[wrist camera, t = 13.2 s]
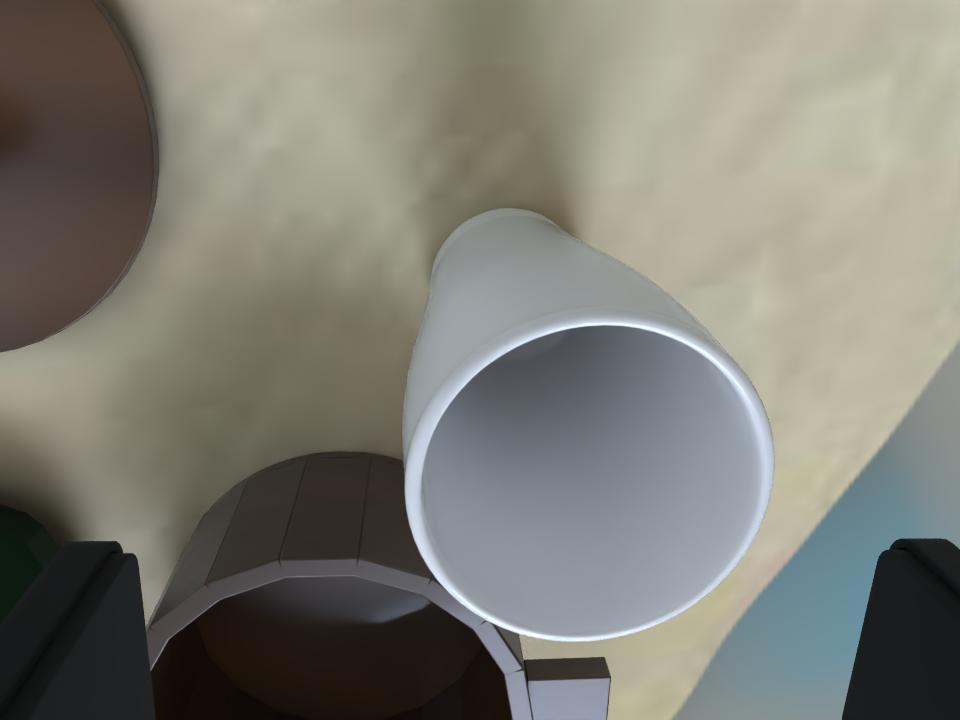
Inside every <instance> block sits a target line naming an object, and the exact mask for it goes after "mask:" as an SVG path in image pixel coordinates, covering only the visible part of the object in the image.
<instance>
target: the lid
mask: <svg viewBox="0 0 960 720" xmlns="http://www.w3.org/2000/svg"><path fill="white" fill-rule="evenodd" d="M158 175H159V157H158V138H157V133H156V127H155V121H154V116H153V110H152V106H151V103H150V100H149V96H148V93H147V90H146V87H145V84H144V80H143V77H142V75H141V73H140V70H139V68H138V66H137V64H136V61H135V59H134V57H133V55H132V52H131V50H130V48H129V46H128V44H127V42H126V41H125V39H124V37H123V36H122V34H121V32H120V31H119V29H118V27H117V25H116V24H115V22H114V20H113V19H112V17H111V16H110V14H109V13H108V12H107V10H106V9H105V8H104V6H103V5H102V4H101V2H100V1H99V0H0V352H5V351H10V350H15V349H19V348H22V347H25V346H28V345H31V344H34V343H37V342H40V341H42V340H44V339H46V338H48V337H50V336H52V335H54V334H57V333H59V332H61V331H63V330H65V329H66V328H68V327H69V326H71V325H72V324H74V323H75V322H77V321H78V320H79V319H81V318H82V317H84V316H85V315H87V314H88V313H89V312H91V311H92V310H93V309H95V308H96V307H97V306H98V305H99V304H100V303H101V302H102V301H103V300H104V299H105V298H106V297H107V296H108V295H109V294H111V293H112V291H113V290H114V289H115V288H116V286H117V285H118V284H119V283H120V281H121V280H122V279H123V277H124V276H125V275H126V274H127V272H128V271H129V269H130V267H131V266H132V264H133V262H134V260H135V259H136V257H137V255H138V253H139V251H140V250H141V247H142V245H143V242H144V240H145V237H146V234H147V232H148V229H149V227H150V224H151V220H152V215H153V211H154V207H155V202H156V198H157V187H158Z"/></svg>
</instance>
